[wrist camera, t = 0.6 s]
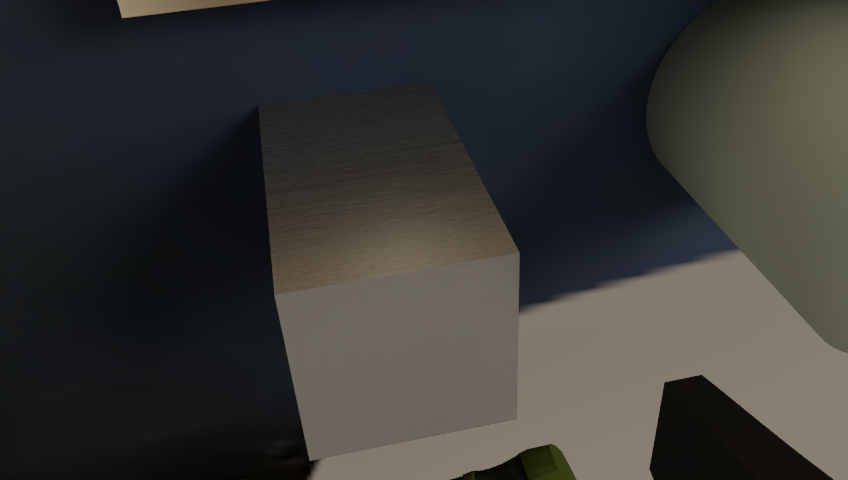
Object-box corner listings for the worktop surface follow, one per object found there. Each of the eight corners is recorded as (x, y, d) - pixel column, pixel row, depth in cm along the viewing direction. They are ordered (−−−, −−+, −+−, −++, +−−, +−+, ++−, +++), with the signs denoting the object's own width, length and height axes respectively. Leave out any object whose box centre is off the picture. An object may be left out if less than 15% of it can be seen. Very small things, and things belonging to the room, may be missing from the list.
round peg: (882, -35, 19) (1154, 79, 14) (825, 169, 23) (1023, 328, 17) (659, -7, 18) (850, 127, 13) (634, 201, 22) (777, 379, 16)
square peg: (429, 81, 19) (520, 252, 13) (437, 222, 21) (516, 419, 15) (258, 105, 18) (274, 294, 12) (285, 246, 20) (309, 460, 15)
